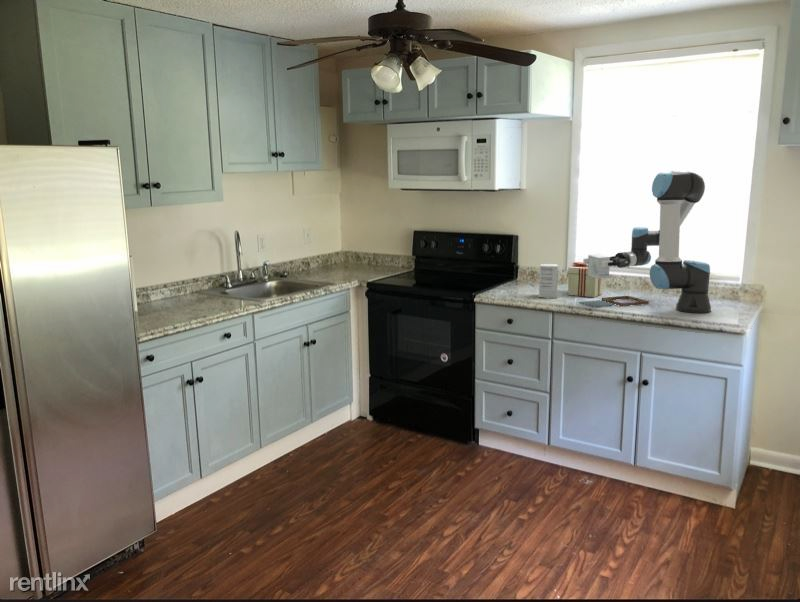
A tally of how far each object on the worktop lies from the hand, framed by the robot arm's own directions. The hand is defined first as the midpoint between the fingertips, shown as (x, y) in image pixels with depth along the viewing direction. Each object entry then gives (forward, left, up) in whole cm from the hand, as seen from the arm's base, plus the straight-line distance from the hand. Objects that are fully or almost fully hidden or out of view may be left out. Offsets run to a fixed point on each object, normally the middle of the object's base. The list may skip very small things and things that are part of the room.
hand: (592, 263), depth 326 cm
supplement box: (+27, +7, -21) cm, 35 cm away
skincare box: (+1, -4, -7) cm, 8 cm away
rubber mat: (0, -4, -21) cm, 21 cm away
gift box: (+26, -15, -21) cm, 37 cm away
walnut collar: (-1, -20, -21) cm, 29 cm away
